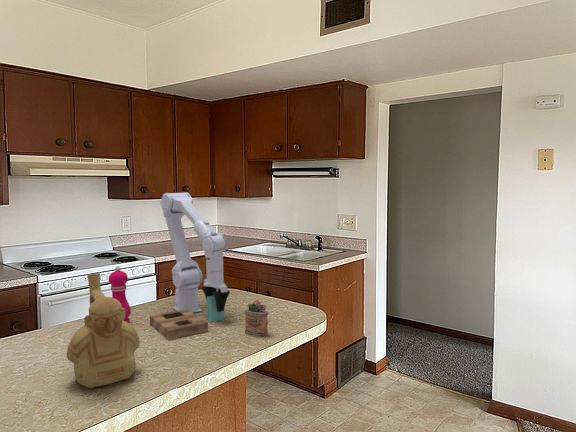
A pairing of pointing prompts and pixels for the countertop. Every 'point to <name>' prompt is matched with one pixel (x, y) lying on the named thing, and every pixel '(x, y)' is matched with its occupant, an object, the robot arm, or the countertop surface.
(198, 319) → the socket board
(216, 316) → the teal cuboid tower
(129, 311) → the pepper mill
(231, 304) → the countertop surface
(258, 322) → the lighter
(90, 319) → the ceramic vessel
